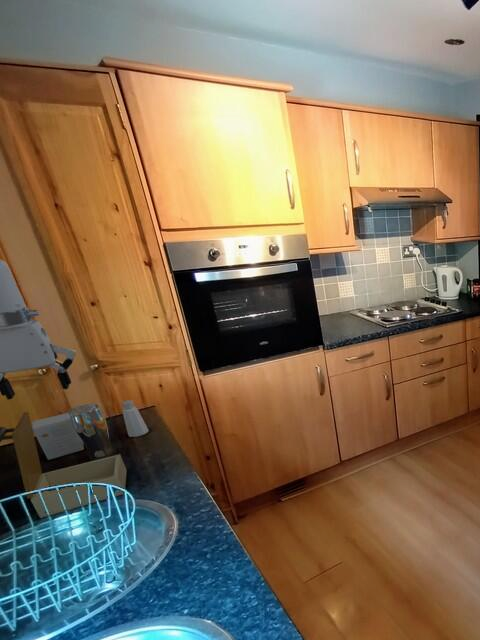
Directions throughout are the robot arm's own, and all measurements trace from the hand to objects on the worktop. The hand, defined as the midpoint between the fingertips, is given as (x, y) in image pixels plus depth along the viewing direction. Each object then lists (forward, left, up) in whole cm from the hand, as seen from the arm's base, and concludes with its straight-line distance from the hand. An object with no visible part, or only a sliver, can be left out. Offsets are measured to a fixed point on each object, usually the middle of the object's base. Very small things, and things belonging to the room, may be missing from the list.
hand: (39, 392), depth 103 cm
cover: (-6, 0, -15) cm, 16 cm away
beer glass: (+2, +20, -28) cm, 35 cm away
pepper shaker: (+10, +30, -28) cm, 43 cm away
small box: (-7, +29, -28) cm, 41 cm away
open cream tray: (0, 0, -28) cm, 28 cm away
